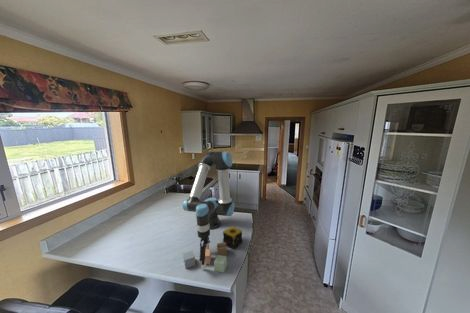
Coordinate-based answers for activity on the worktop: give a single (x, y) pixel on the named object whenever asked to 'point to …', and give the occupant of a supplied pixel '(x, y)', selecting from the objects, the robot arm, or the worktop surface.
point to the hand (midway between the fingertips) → (205, 259)
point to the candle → (232, 237)
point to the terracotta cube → (207, 256)
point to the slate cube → (189, 259)
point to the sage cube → (220, 263)
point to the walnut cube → (222, 249)
